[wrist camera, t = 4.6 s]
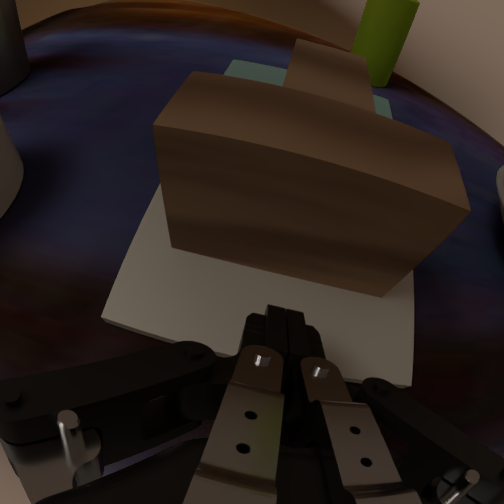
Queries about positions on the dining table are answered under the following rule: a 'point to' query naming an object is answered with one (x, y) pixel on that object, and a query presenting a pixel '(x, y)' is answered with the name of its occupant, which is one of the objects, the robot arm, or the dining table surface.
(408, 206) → the t block
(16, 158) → the toilet tissue
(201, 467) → the robot arm
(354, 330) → the board
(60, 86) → the dining table surface
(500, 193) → the dish
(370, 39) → the soap dispenser
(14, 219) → the dining table surface
